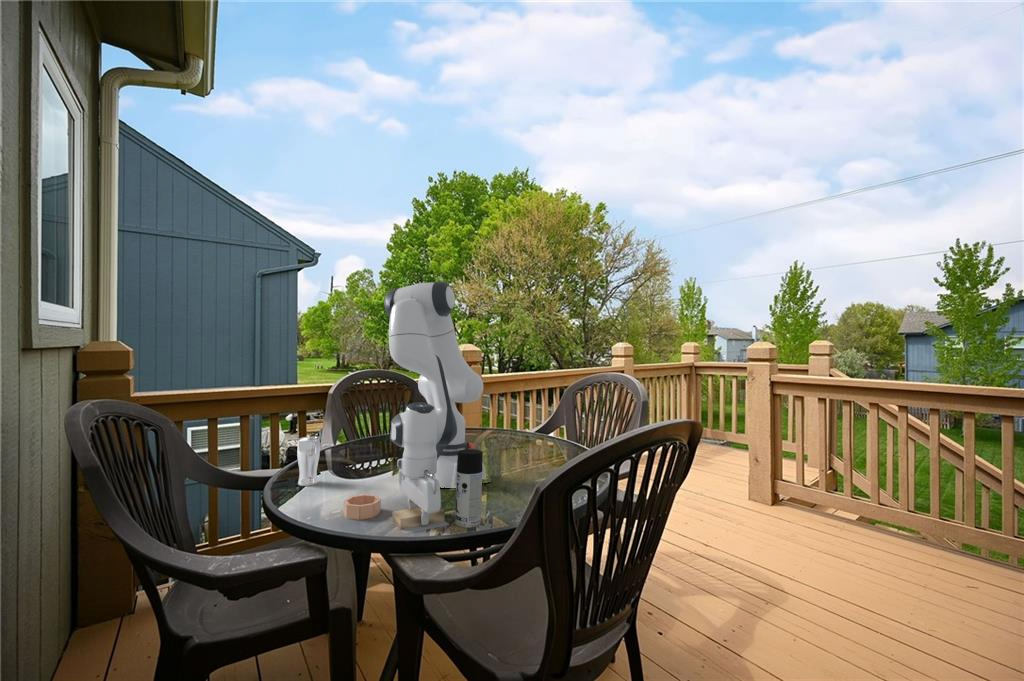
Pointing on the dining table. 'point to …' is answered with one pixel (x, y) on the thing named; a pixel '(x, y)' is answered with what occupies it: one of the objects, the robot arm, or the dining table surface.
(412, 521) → the board
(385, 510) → the dining table surface
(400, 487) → the robot arm
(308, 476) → the beer glass
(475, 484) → the spray can
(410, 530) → the mat
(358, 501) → the bowl
